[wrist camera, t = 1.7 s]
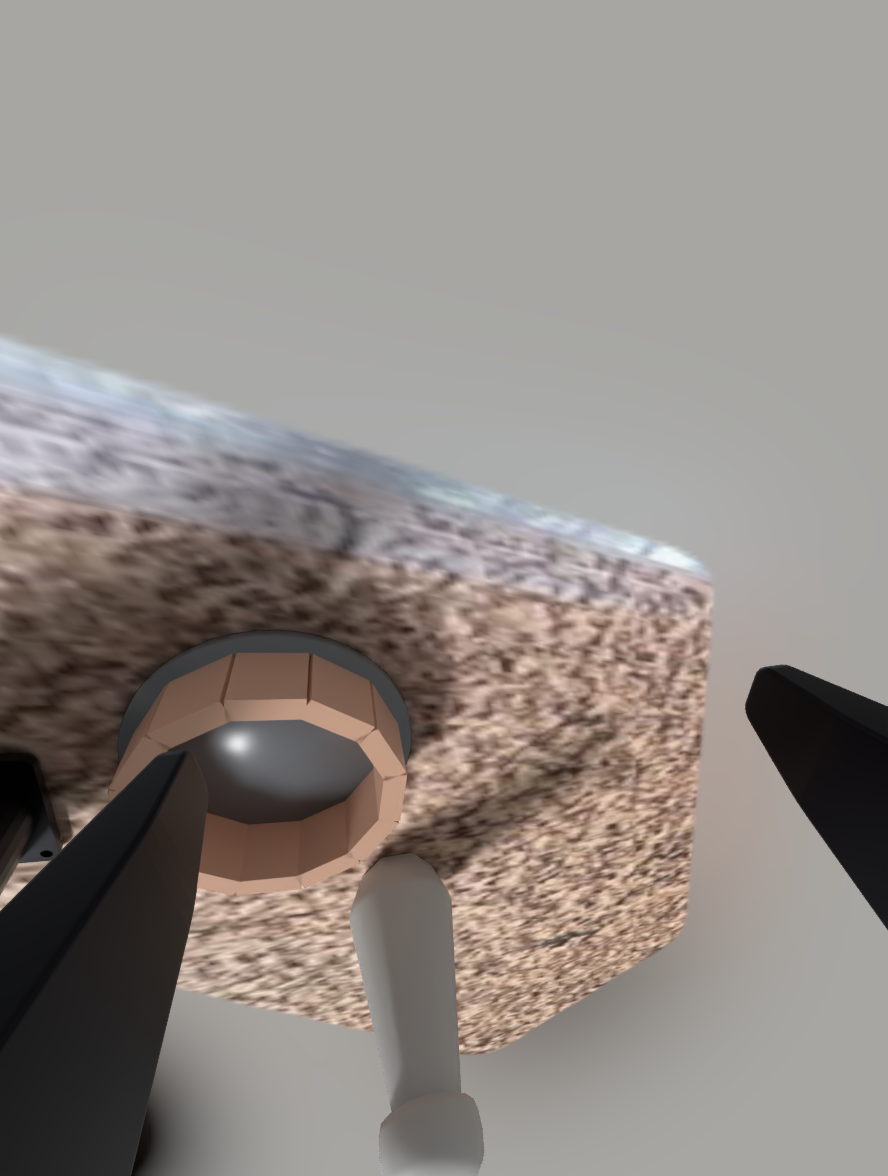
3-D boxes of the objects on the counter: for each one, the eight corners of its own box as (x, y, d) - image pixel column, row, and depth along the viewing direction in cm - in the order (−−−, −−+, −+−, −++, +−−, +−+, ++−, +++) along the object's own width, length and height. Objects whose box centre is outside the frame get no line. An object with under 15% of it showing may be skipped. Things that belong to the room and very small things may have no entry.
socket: (396, 825, 29) (404, 887, 26) (140, 845, 26) (115, 918, 23) (424, 632, 23) (440, 681, 20) (100, 627, 20) (59, 685, 17)
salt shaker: (362, 914, 32) (382, 1234, 21) (335, 862, 29) (341, 1201, 18) (451, 885, 33) (516, 1183, 22) (433, 831, 30) (497, 1143, 19)
